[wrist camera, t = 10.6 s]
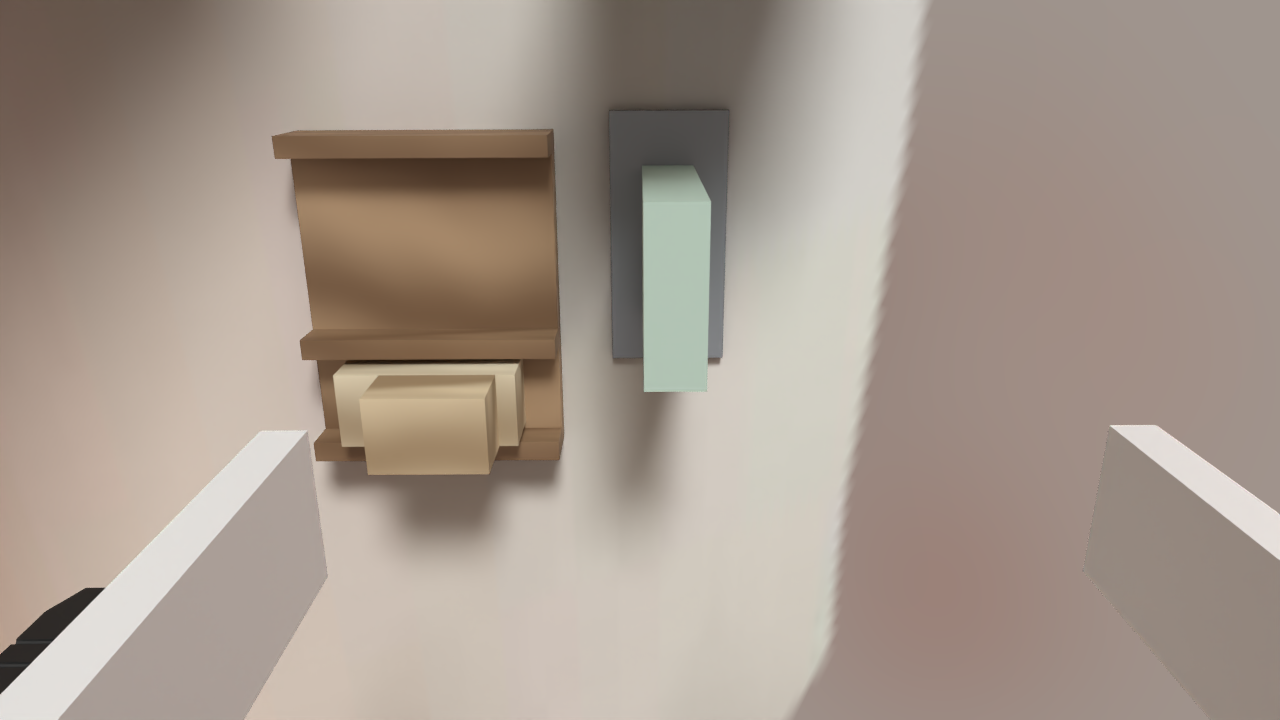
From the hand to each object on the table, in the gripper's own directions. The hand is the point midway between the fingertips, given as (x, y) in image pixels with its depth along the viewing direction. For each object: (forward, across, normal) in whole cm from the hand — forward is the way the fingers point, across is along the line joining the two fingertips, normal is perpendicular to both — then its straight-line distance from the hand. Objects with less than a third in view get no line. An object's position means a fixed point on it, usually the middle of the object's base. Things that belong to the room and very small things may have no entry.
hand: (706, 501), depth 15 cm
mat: (+22, 0, 0) cm, 23 cm away
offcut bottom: (+22, -9, -6) cm, 24 cm away
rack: (+22, -9, -2) cm, 24 cm away
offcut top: (+19, -9, -6) cm, 22 cm away
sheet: (+22, 0, 0) cm, 22 cm away
